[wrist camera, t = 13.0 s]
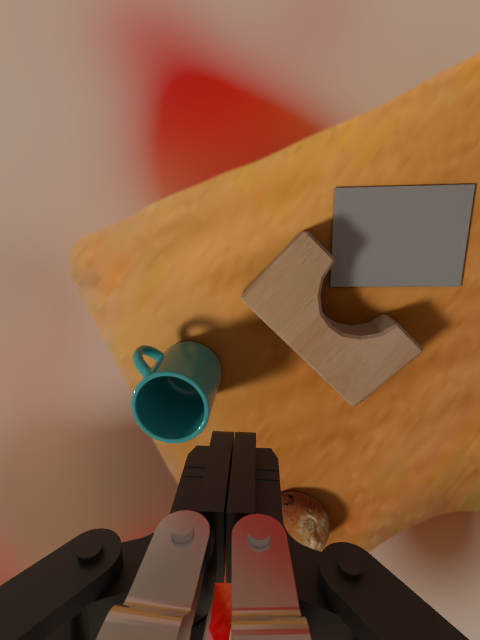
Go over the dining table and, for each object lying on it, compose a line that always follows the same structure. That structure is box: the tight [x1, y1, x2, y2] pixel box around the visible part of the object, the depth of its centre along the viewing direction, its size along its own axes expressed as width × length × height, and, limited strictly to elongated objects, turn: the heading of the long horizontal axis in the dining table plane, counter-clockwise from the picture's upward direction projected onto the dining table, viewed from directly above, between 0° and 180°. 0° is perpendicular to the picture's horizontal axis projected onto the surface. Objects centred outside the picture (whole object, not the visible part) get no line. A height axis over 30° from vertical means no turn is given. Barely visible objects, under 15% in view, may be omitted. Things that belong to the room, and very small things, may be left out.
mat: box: [330, 184, 475, 287], centre depth 43 cm, size 16×12×1 cm
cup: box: [131, 341, 222, 443], centre depth 45 cm, size 9×12×11 cm
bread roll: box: [281, 491, 330, 551], centre depth 54 cm, size 10×10×8 cm
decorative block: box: [241, 231, 423, 406], centre depth 44 cm, size 11×6×20 cm
